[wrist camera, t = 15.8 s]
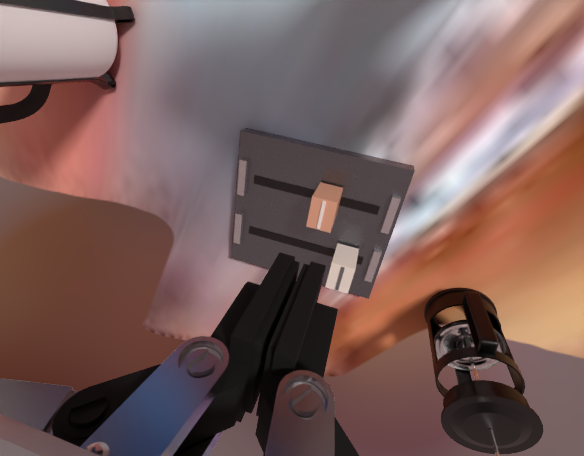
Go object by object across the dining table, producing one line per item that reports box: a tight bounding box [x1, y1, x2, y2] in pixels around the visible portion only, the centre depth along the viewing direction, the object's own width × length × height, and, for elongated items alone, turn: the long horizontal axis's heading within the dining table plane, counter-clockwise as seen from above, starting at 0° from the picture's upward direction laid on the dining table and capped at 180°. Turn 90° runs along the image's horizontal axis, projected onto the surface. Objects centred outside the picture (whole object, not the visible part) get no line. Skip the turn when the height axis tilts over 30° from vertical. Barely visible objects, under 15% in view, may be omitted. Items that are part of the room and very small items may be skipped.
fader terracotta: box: [306, 182, 343, 233], centre depth 39 cm, size 4×3×5 cm
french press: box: [425, 288, 543, 456], centre depth 37 cm, size 12×9×23 cm
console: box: [231, 128, 414, 299], centre depth 45 cm, size 20×22×3 cm
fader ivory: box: [325, 243, 359, 294], centre depth 43 cm, size 4×3×5 cm
